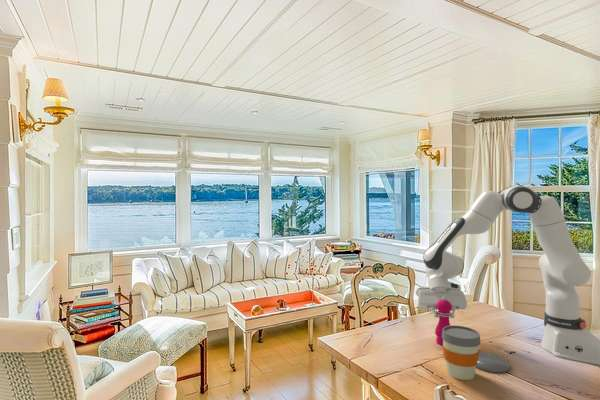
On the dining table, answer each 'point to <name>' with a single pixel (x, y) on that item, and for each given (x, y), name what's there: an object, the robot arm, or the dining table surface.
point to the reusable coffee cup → (461, 351)
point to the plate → (492, 363)
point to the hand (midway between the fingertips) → (444, 317)
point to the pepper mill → (442, 318)
